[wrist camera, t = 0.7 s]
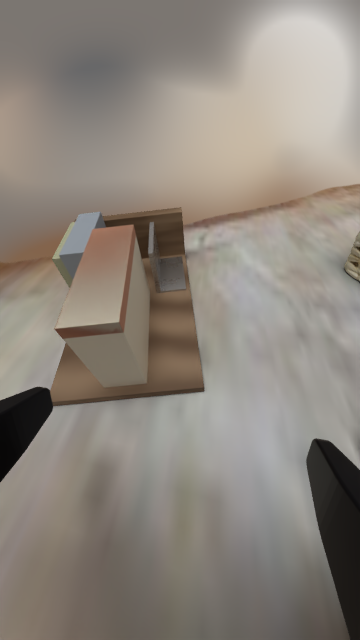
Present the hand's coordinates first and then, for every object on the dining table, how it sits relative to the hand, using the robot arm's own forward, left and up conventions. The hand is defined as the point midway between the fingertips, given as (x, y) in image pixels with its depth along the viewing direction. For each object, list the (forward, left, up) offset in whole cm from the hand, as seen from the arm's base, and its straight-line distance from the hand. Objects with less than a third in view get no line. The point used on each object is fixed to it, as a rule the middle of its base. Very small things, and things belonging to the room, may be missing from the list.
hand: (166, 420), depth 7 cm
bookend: (+17, +18, -14) cm, 29 cm away
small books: (+9, +25, -15) cm, 31 cm away
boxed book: (+6, +15, -14) cm, 21 cm away
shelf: (+10, +18, -15) cm, 25 cm away
